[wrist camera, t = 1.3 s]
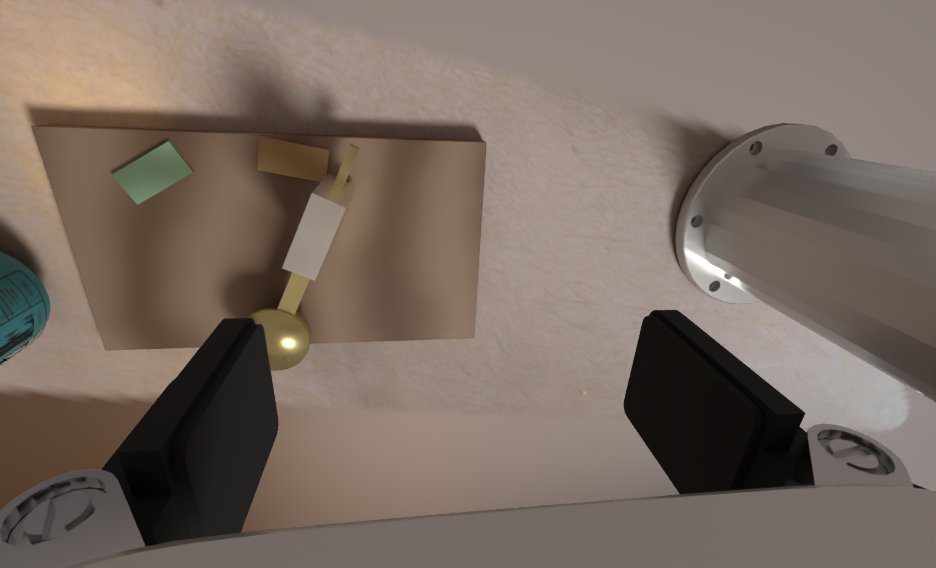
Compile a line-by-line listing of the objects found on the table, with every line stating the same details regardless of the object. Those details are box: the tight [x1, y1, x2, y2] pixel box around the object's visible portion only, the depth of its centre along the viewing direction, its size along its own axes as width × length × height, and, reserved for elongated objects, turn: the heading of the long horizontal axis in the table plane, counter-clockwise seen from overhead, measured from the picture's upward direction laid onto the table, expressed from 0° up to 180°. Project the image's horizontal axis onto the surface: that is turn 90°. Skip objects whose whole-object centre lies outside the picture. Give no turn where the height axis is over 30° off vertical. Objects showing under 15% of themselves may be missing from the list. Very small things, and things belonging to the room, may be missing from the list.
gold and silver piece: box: [246, 144, 360, 370], centre depth 24 cm, size 14×4×5 cm, turn 152°
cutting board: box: [31, 125, 486, 350], centre depth 26 cm, size 23×13×2 cm, turn 87°
